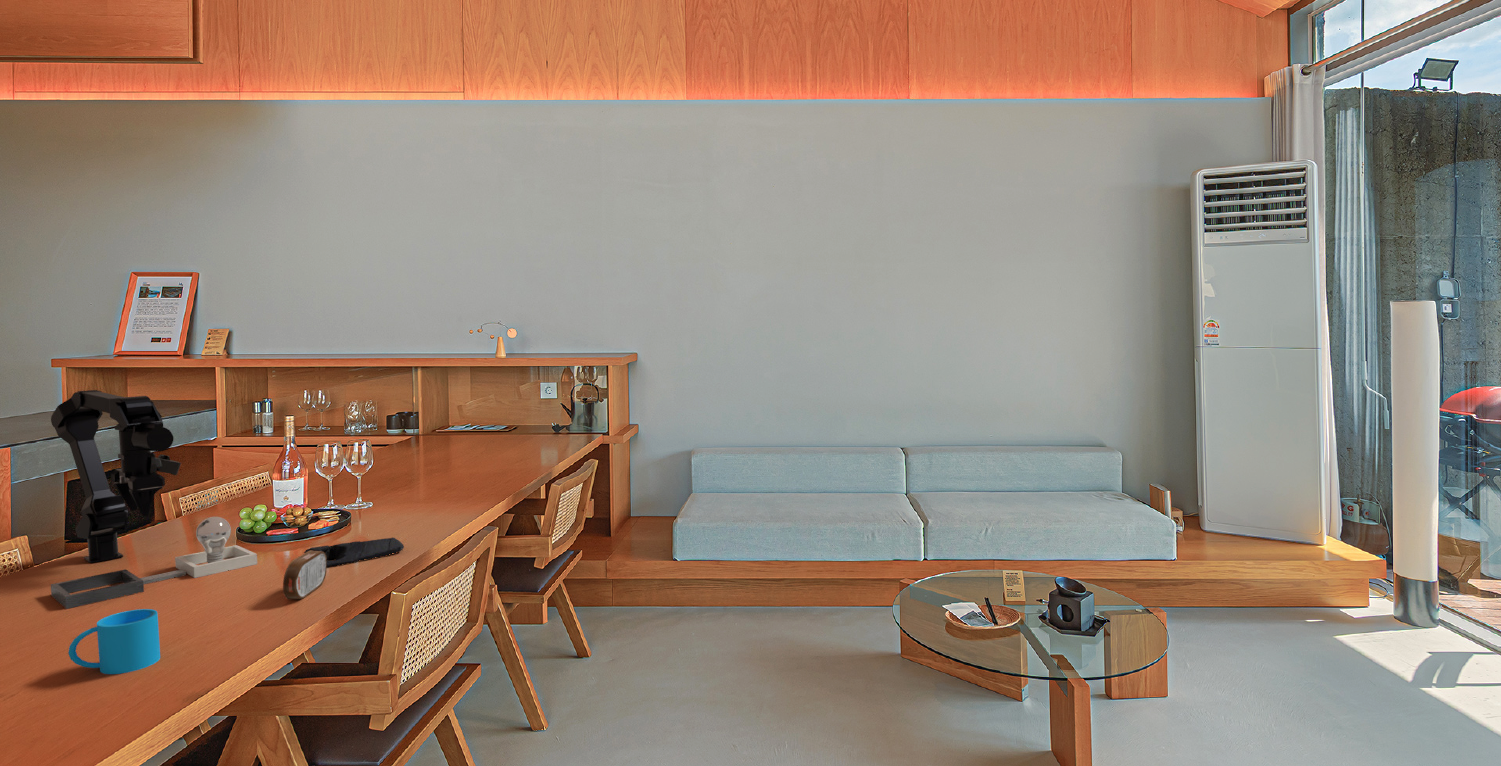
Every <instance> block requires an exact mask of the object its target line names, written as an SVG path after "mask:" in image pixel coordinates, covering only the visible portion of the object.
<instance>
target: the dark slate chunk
mask: <svg viewBox="0 0 1501 766" xmlns="http://www.w3.org/2000/svg"><path fill="white" fill-rule="evenodd" d="M404 548H405V546H404V544H403V543H402V542H401V541H400V540H398V539H397V538H396V537H387V538H379V539H371V540H364V541H360V540H359V541H357V540H356V541H350V542H342V543H337V544H333V545H323V546H322V545H320V546H311V547H310V548H307V549H305V551H304V552H303V554H304V553H306V552H308V551H310V550H313V551H322V552H324V553H325V554H326V557H327V566H326V568H331V567H338V566H337V565H339V566H343V565H342V564H344V565H347V564H346V563H350V564H354V562H355V563H357V562H360V561H359V560H363V561H365V560H364V559H368V560H373V559H372V558H374V559H376V558H375V557H378V558H381V557H380V556H384V557H386V555H388V556H390V555H389V554H391V555H393V554H392V553H395V554H397V553H399V552H401V551H403V550H404ZM396 552H397V553H396ZM370 558H371V559H370ZM330 559H336V560H330Z"/></svg>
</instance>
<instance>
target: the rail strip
mask: <svg viewBox="0 0 1501 766" xmlns="http://www.w3.org/2000/svg"><path fill="white" fill-rule="evenodd" d="M186 575H187V573H186V572H185V571H183V570H182V569H181V570H179V569H177V570H173V571H169V572H164V573H159V574H153V575H149V576H143V577H139V578H140V579H142V580H143V585H148V584H152V583H156V581H157V582H160V581H165V580H171V579H175V578H174V577H176V578H180V577H184V576H185V577H186ZM170 578H171V579H170Z"/></svg>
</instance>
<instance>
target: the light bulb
mask: <svg viewBox="0 0 1501 766" xmlns="http://www.w3.org/2000/svg"><path fill="white" fill-rule="evenodd" d="M195 531H196V532H195V535H196V538H197V541H198V542H199V543H200V544H201V546H202V547H203V549H204V551H205V553H206V554H207V556H206V557H207V562H206V563H212V562H216V561H221V560H224V559H223V553H222V552H223V551H224V547H226V543H227V541H228V540H229V538H230V537H231V533H232V527H231V525H230V523H229V521H227V520H226V519H225V518H224V517H220V516H211V517H207V518H206V519H203V520H202V521H201V522H199V524H198V526H197V527H196V530H195Z"/></svg>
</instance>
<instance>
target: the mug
mask: <svg viewBox="0 0 1501 766" xmlns="http://www.w3.org/2000/svg"><path fill="white" fill-rule="evenodd" d="M158 613H159V612H158V611H157V610H156V609H151V608H137V609H132V610H126V611H121V612H118V613H116V612H115V613H113V614H110V615H108V616H104V617H103V618H101V619H99V620H98V621H97V622H96V626H94V627H91V628H89V629H87V630H85V631H83V632H81V633H80V634H78V635H77V636H76V637H75V638H74V639H73V640H72V642H71V643H70V645H69V646H68V655H69V658H70V660H71V661H72V662H73V663H74V664H75V665H78V666H80V667H83V668H89V669H98V668H99V672H100V673H102V674H103V675H120V674H127V673H128V674H129V673H131V672H135V671H139V670H142V669H145V668H148V667H150V666H152V665H155V664H156V663H157V662H159V660H160V659H161V646H160V645H161V643H160V631H159V617H158V616H159V615H158ZM93 633H97V634H96V635H97V648H98V659H99V662H92V661H91V662H90V661H86V660H84V659H82V658H81V657H79V656H78V653H77V647H78V645H79V643H80V642H81V641H82V640H83V639H84V638H85V637H87V636H89V635H91V634H93Z"/></svg>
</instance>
